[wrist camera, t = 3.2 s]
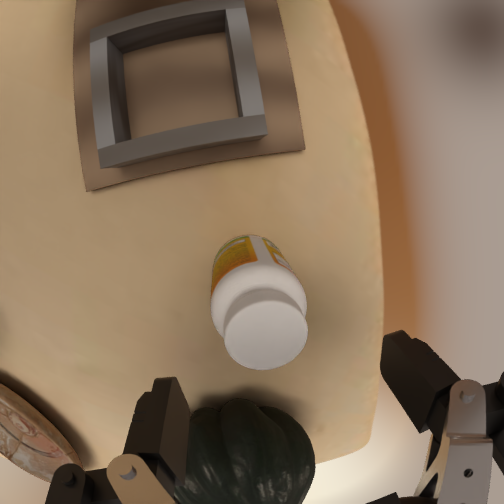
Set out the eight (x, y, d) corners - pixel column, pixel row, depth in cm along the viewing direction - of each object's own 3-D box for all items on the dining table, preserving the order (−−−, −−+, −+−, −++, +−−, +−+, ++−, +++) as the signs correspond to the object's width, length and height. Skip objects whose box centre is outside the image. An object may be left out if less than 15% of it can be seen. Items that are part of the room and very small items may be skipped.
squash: (112, 431, 20) (179, 565, 12) (259, 373, 20) (346, 531, 12) (184, 423, 32) (231, 517, 24) (288, 378, 32) (343, 479, 24)
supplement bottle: (209, 295, 23) (203, 377, 13) (218, 228, 21) (215, 278, 12) (275, 303, 23) (305, 383, 14) (289, 239, 22) (336, 292, 13)
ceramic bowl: (-5, 333, 22) (-27, 356, 17) (122, 459, 29) (115, 486, 24) (-44, 376, 23) (-58, 392, 19) (47, 468, 30) (40, 486, 26)
